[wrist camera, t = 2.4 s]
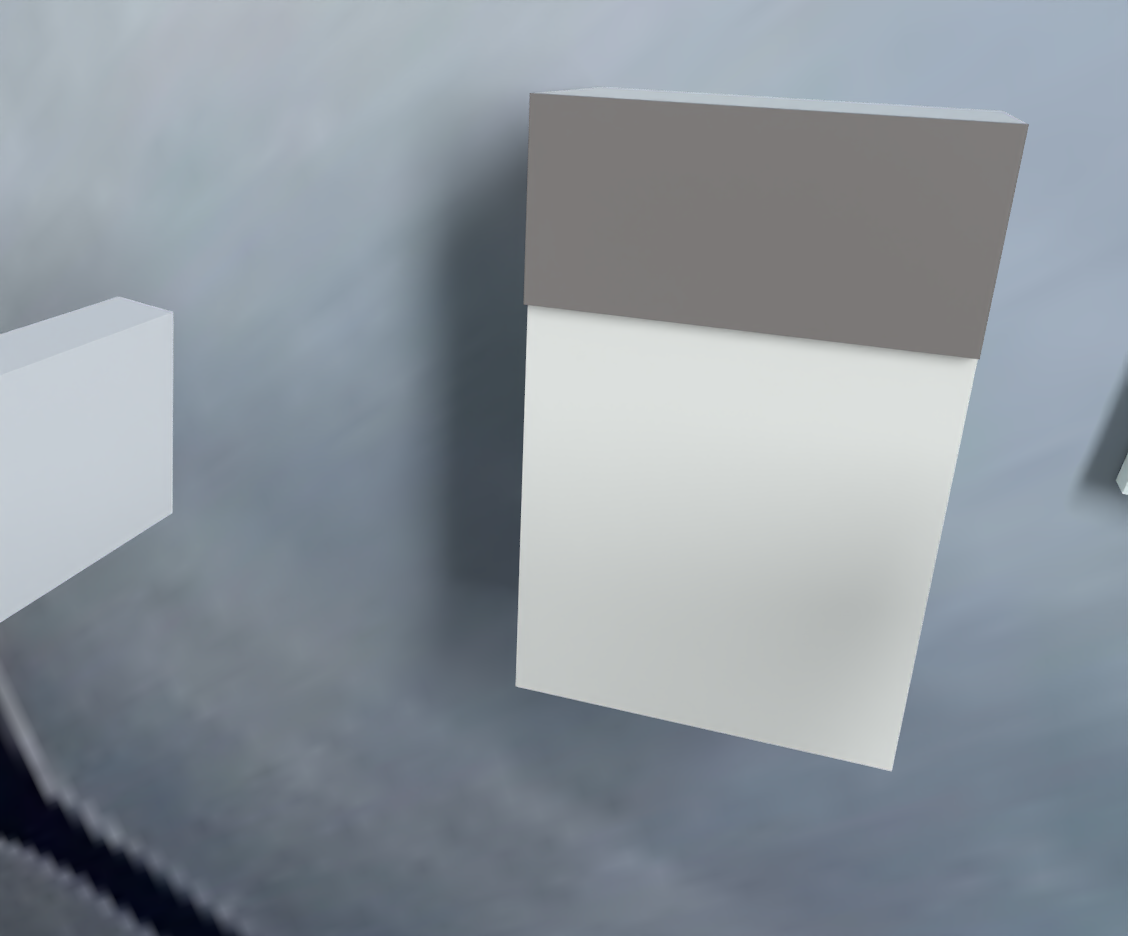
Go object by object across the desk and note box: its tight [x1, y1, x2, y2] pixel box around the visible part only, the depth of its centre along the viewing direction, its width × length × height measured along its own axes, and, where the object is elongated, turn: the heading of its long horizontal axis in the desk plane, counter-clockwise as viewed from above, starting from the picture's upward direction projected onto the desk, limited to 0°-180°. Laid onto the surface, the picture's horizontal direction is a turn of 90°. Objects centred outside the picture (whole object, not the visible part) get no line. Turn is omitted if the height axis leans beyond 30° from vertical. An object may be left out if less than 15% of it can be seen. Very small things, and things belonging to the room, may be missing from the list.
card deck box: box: [516, 87, 1029, 771], centre depth 17 cm, size 10×6×4 cm, turn 177°
